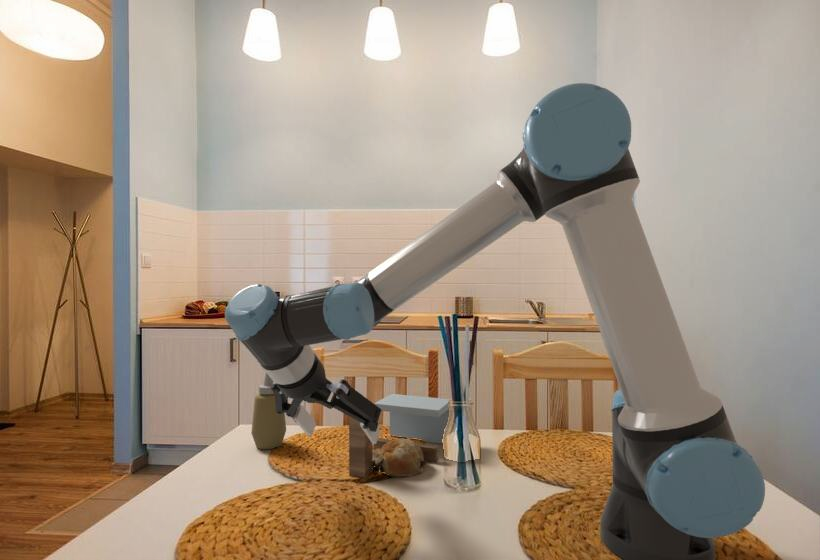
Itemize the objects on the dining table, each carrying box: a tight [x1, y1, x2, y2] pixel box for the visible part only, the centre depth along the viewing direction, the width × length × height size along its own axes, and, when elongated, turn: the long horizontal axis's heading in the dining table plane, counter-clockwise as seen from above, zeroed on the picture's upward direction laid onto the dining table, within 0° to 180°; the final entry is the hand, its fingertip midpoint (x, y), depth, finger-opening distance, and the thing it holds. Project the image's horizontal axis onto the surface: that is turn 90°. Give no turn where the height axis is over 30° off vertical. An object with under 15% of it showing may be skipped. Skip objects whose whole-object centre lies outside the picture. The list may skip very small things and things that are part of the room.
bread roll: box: [374, 438, 425, 478], centre depth 101 cm, size 10×10×8 cm
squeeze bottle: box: [251, 372, 287, 450], centre depth 115 cm, size 8×8×18 cm
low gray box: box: [373, 393, 450, 444], centre depth 115 cm, size 10×16×10 cm, turn 68°
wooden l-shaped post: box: [348, 416, 439, 478], centre depth 101 cm, size 14×15×12 cm
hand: (343, 433), depth 90 cm, fingers open, 13 cm apart
